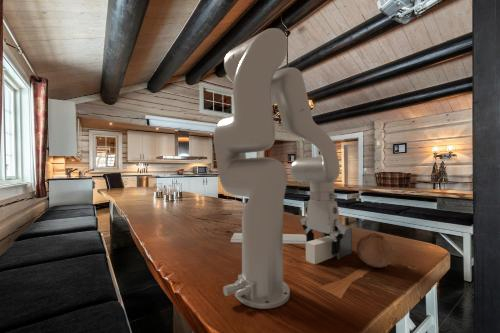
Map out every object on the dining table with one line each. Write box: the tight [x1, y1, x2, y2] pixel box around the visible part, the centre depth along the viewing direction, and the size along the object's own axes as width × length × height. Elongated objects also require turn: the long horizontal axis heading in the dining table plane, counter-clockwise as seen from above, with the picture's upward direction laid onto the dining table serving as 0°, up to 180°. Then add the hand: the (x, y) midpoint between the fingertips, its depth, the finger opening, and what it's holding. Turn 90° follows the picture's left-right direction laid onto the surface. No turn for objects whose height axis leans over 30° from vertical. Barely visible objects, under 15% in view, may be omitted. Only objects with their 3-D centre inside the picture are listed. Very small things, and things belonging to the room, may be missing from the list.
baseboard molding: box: [229, 231, 307, 245], centre depth 94 cm, size 31×3×12 cm
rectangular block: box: [305, 236, 337, 265], centre depth 75 cm, size 14×4×6 cm, turn 126°
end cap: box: [316, 225, 353, 261], centre depth 79 cm, size 10×9×9 cm
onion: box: [356, 232, 394, 269], centre depth 67 cm, size 10×9×10 cm
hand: (322, 248), depth 75 cm, fingers open, 9 cm apart
